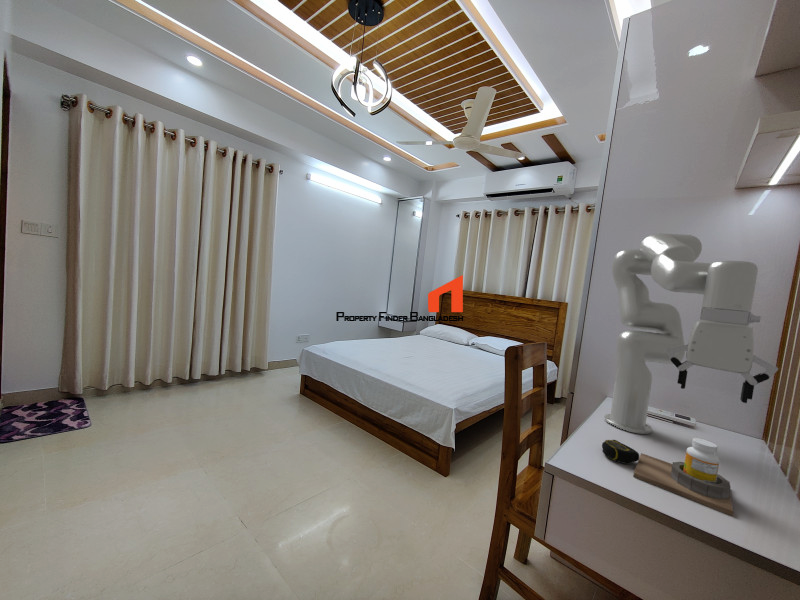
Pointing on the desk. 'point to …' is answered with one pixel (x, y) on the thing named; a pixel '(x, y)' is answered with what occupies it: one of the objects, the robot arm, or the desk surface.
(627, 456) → the tape measure
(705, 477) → the supplement bottle
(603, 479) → the desk surface
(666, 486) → the holder
